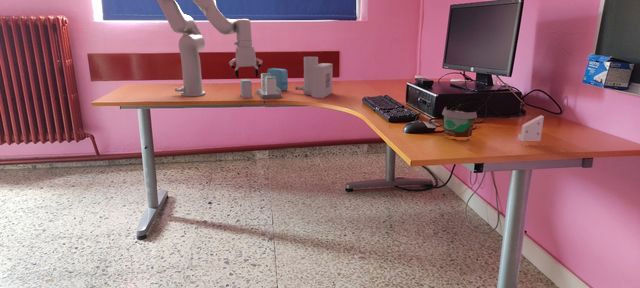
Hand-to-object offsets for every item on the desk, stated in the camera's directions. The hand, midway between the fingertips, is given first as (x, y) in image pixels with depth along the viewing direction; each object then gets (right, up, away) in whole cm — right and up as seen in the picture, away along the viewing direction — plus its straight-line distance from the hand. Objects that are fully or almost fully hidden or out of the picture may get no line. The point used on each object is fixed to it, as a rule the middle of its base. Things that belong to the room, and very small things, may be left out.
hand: (247, 77), depth 229 cm
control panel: (+34, -8, +9) cm, 36 cm away
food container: (+85, -33, -76) cm, 119 cm away
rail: (+11, -9, +6) cm, 15 cm away
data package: (+14, -4, +23) cm, 27 cm away
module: (-1, -10, +3) cm, 10 cm away
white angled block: (+108, -35, -83) cm, 141 cm away
